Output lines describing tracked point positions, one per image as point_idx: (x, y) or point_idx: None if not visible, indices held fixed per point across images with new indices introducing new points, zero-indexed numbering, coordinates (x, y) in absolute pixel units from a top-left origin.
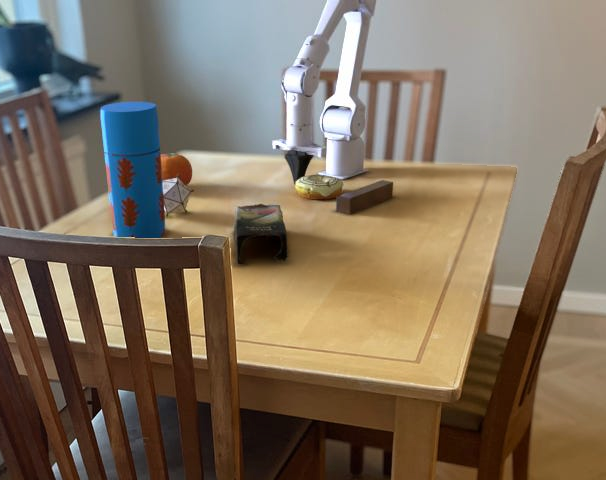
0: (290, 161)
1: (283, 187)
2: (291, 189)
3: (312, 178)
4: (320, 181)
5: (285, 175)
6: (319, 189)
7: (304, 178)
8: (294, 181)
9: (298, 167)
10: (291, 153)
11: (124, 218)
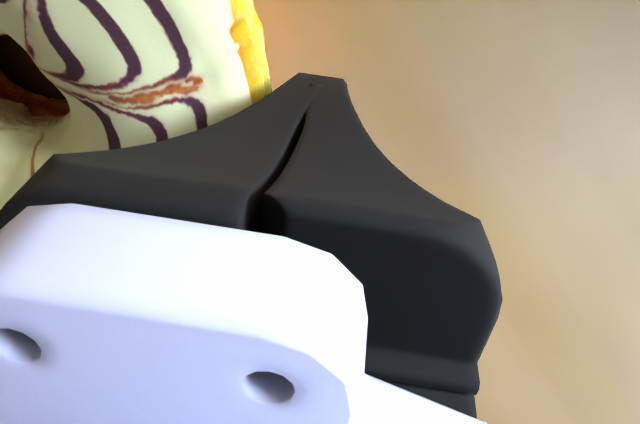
0: (331, 181)
1: (505, 95)
2: (395, 73)
3: (88, 127)
4: (40, 143)
5: (629, 364)
6: None
7: (98, 32)
8: (329, 82)
9: (186, 134)
10: (369, 359)
11: None
